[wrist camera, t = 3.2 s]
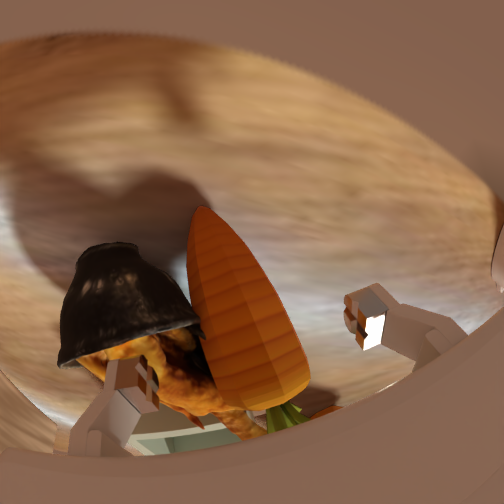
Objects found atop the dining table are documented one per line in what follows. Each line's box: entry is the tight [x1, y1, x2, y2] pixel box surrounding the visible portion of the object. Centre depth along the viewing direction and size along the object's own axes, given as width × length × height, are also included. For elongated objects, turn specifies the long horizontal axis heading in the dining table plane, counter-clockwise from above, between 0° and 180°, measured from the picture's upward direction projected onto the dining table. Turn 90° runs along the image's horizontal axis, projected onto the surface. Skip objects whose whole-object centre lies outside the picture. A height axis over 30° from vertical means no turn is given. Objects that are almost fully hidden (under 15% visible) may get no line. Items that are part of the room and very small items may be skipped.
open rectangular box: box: [127, 402, 266, 456], centre depth 21 cm, size 14×14×7 cm
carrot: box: [186, 206, 311, 434], centre depth 14 cm, size 5×5×15 cm
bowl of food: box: [57, 242, 267, 441], centre depth 13 cm, size 9×11×18 cm
